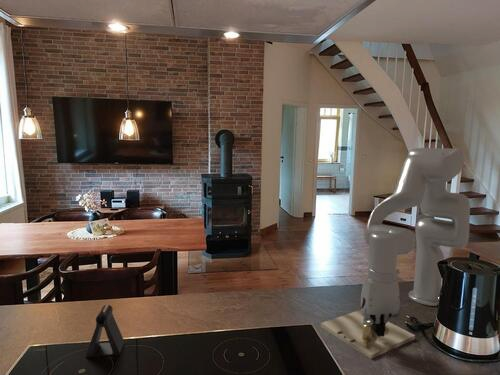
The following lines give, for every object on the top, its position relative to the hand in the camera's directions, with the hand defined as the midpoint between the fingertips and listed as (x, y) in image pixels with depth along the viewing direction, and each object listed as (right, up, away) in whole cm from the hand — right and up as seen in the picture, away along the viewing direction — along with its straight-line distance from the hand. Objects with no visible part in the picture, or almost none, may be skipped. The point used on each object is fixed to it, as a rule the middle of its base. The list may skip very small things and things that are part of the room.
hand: (378, 333), depth 103 cm
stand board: (-1, -3, +7) cm, 8 cm away
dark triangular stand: (-79, -3, -4) cm, 79 cm away
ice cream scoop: (-1, -1, +4) cm, 5 cm away
